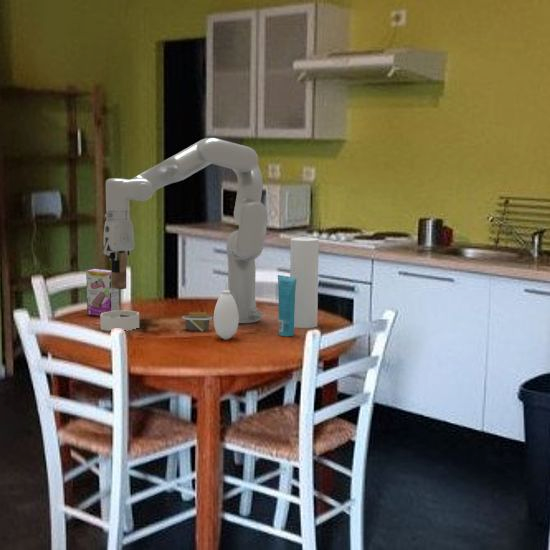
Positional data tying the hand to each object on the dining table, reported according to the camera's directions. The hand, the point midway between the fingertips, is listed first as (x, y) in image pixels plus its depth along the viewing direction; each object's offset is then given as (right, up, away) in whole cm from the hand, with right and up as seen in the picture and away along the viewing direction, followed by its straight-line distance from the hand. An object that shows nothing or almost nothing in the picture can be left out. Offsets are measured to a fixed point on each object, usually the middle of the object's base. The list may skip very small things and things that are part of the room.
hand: (118, 271), depth 267 cm
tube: (+55, -21, -7) cm, 60 cm away
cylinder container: (+61, -19, +8) cm, 65 cm away
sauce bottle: (+36, -21, -13) cm, 44 cm away
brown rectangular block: (0, -6, +1) cm, 6 cm away
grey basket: (+26, -20, -2) cm, 33 cm away
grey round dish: (0, -19, +3) cm, 19 cm away
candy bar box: (-10, -16, +22) cm, 29 cm away
